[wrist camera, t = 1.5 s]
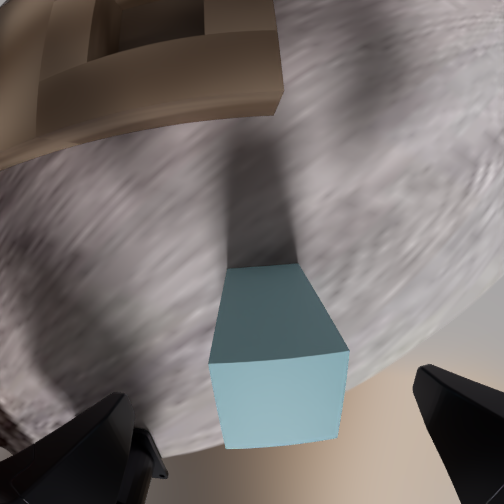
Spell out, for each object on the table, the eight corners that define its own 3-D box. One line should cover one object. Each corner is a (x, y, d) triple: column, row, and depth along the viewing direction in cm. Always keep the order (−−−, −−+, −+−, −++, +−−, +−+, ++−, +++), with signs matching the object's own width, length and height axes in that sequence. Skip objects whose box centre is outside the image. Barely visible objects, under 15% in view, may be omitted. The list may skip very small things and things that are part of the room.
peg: (299, 326, 15) (337, 438, 8) (233, 331, 15) (225, 448, 8) (297, 263, 15) (349, 350, 7) (227, 268, 15) (208, 363, 7)
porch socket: (274, 125, 13) (334, 16, 3) (-16, 184, 13) (-128, 206, 3) (256, -38, 10) (265, -161, 1) (-4, 45, 10) (-91, 15, 1)
